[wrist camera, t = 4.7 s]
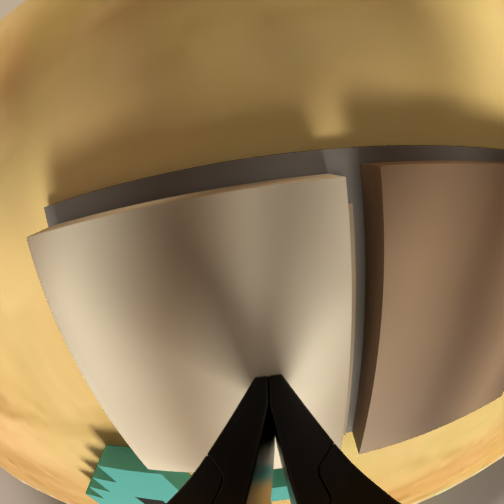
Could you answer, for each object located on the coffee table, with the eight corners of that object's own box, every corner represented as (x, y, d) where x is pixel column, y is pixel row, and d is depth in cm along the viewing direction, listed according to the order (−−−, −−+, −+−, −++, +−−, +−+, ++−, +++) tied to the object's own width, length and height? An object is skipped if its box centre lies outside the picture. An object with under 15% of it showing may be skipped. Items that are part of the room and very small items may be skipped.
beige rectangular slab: (341, 172, 8) (361, 175, 6) (340, 432, 11) (348, 455, 10) (52, 225, 8) (26, 237, 7) (153, 447, 12) (148, 469, 10)
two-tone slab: (535, 153, 7) (561, 157, 6) (497, 372, 11) (511, 389, 9) (49, 205, 8) (17, 216, 7) (149, 440, 12) (141, 465, 11)
